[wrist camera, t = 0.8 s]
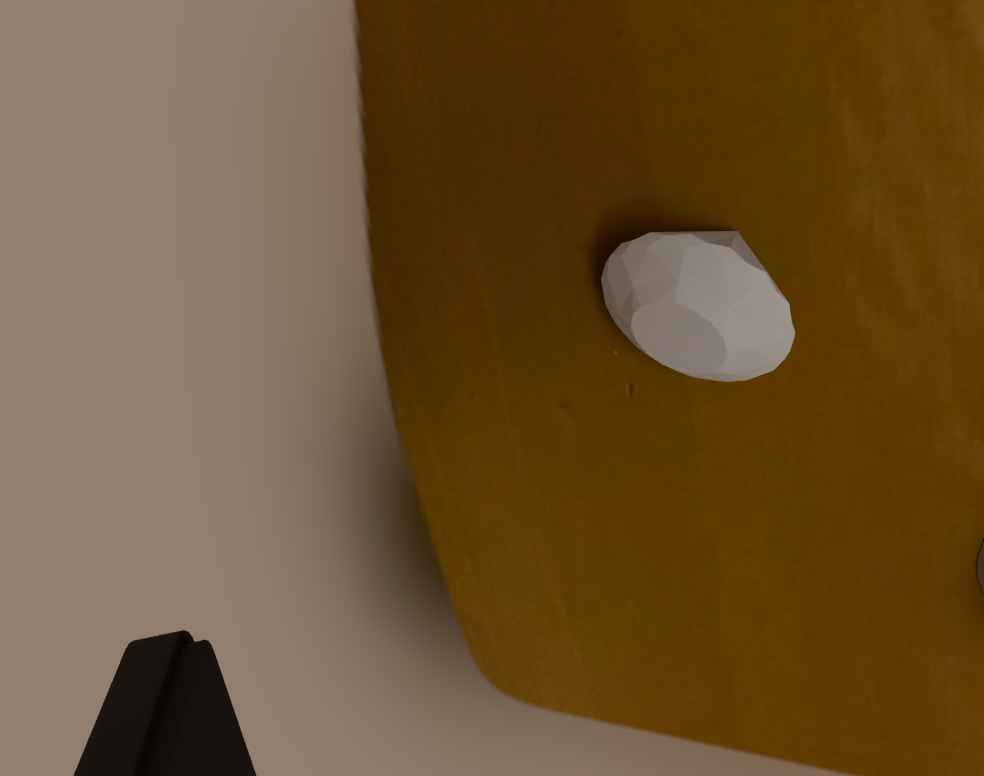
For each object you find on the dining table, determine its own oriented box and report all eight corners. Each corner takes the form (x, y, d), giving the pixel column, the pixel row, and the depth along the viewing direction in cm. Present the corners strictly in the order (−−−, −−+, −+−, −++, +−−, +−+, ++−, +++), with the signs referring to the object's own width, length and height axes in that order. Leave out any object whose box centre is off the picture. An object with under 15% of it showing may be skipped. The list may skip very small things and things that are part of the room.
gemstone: (877, 256, 25) (827, 377, 23) (737, 321, 31) (684, 424, 28) (736, 115, 24) (668, 227, 22) (616, 208, 29) (550, 306, 27)
